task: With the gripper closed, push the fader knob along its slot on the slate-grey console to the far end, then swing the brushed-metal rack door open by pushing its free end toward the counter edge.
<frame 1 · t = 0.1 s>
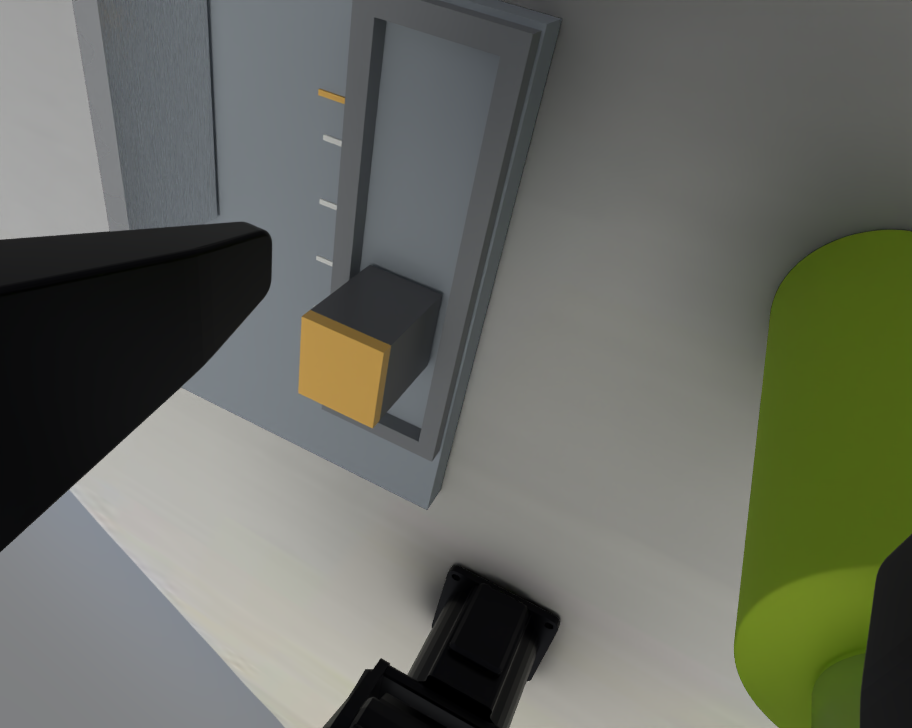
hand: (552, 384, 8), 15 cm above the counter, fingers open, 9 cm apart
fader knob: (371, 343, 24), point 4 cm above the counter, slide at -3.0 cm
rack door: (142, 103, 23), point 4 cm above the counter, hinge at 0.0°
soap dispenser: (858, 324, 21), on the counter, touching gripper
console: (319, 246, 28), on the counter
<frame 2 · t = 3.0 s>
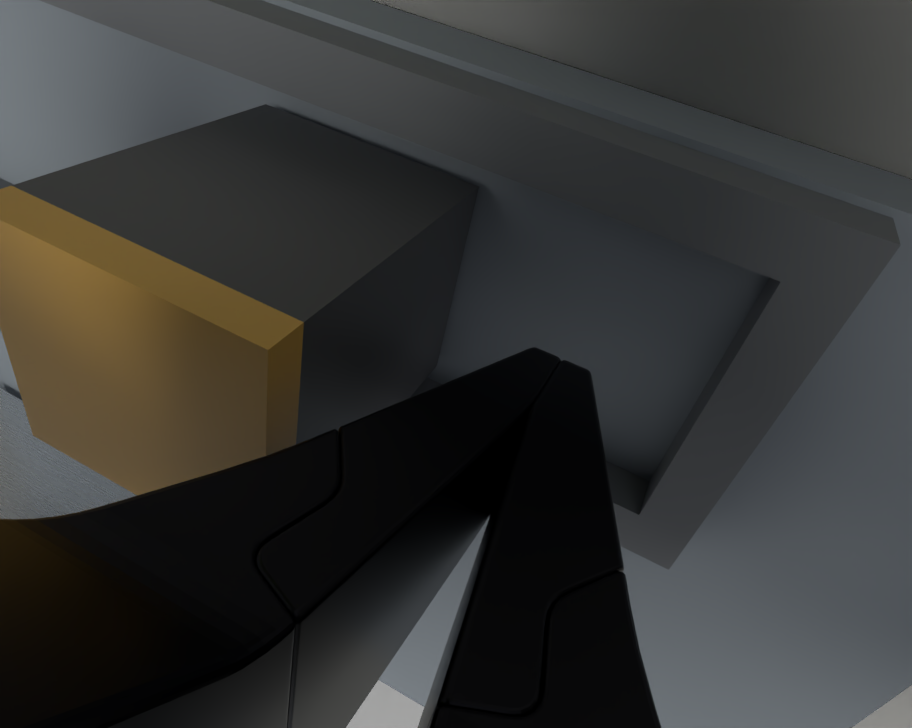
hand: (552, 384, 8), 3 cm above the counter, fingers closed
fader knob: (264, 306, 8), point 4 cm above the counter, slide at -2.9 cm, touching gripper
rack door: (65, 549, 16), point 4 cm above the counter, hinge at 0.0°
console: (359, 403, 15), on the counter
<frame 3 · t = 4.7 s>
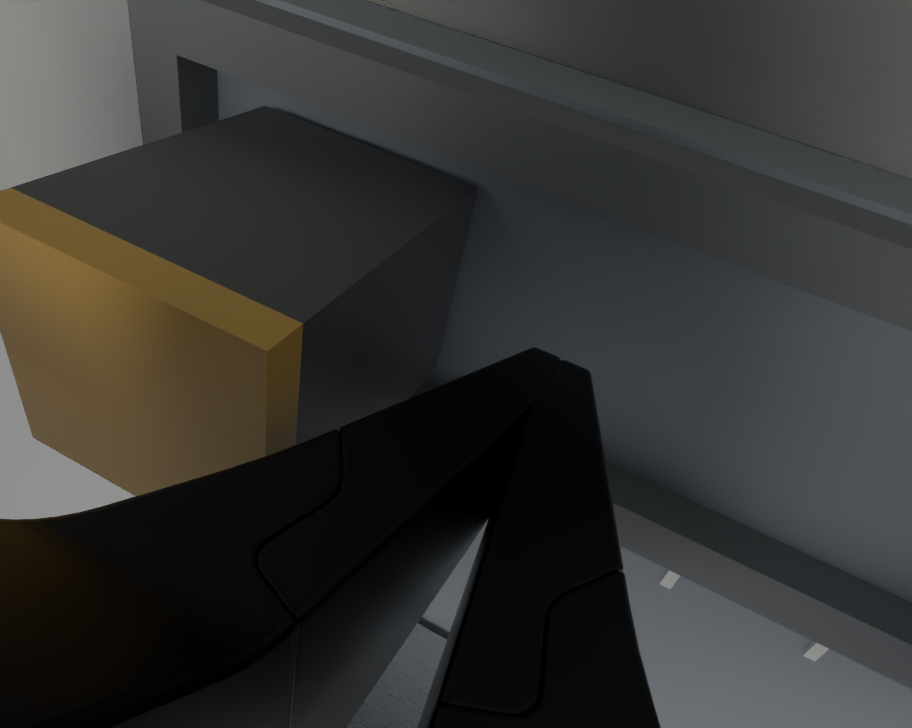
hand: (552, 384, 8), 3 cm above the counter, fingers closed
fader knob: (264, 307, 8), point 4 cm above the counter, slide at 4.7 cm, touching gripper
rack door: (327, 711, 14), point 4 cm above the counter, hinge at 0.0°
console: (684, 561, 13), on the counter
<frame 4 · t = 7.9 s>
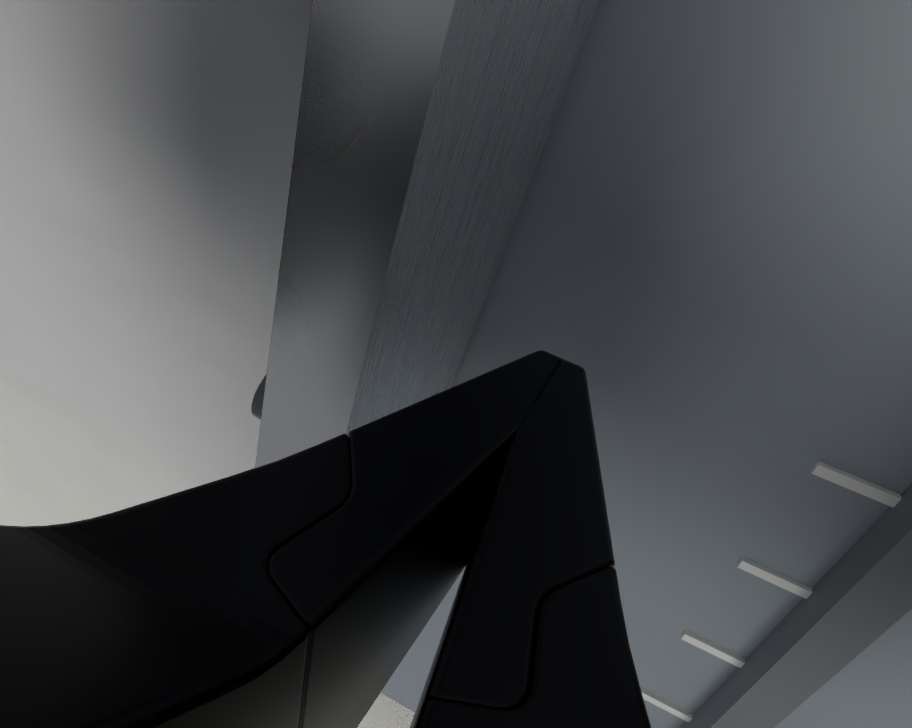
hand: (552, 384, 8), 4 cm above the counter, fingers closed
rack door: (380, 228, 8), point 4 cm above the counter, hinge at 5.9°, touching gripper
console: (690, 499, 13), on the counter
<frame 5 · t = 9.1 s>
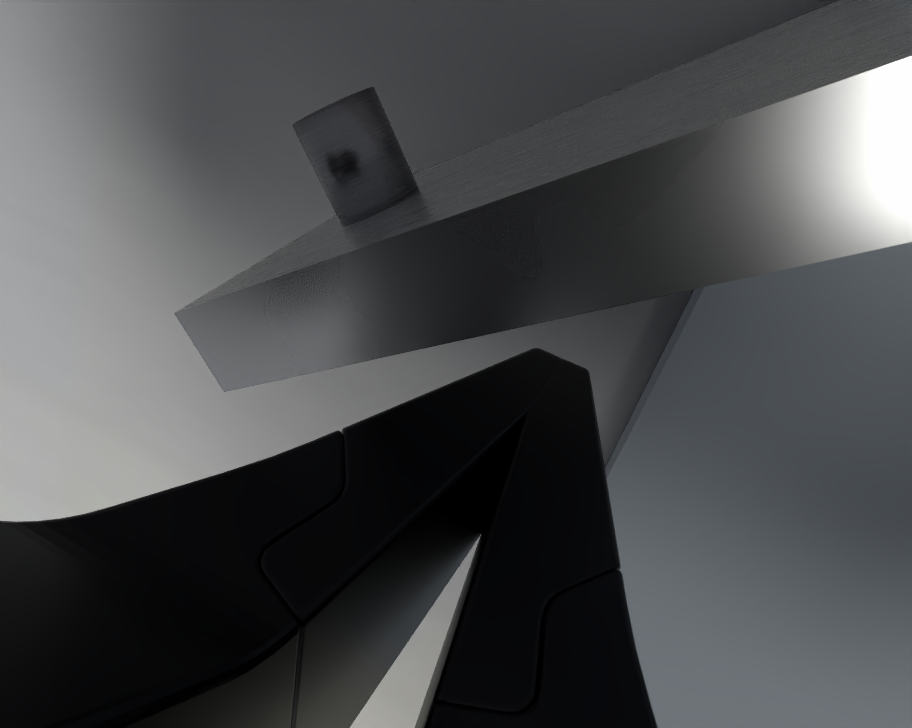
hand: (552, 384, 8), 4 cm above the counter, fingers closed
rack door: (670, 80, 6), point 4 cm above the counter, hinge at 52.0°, touching gripper
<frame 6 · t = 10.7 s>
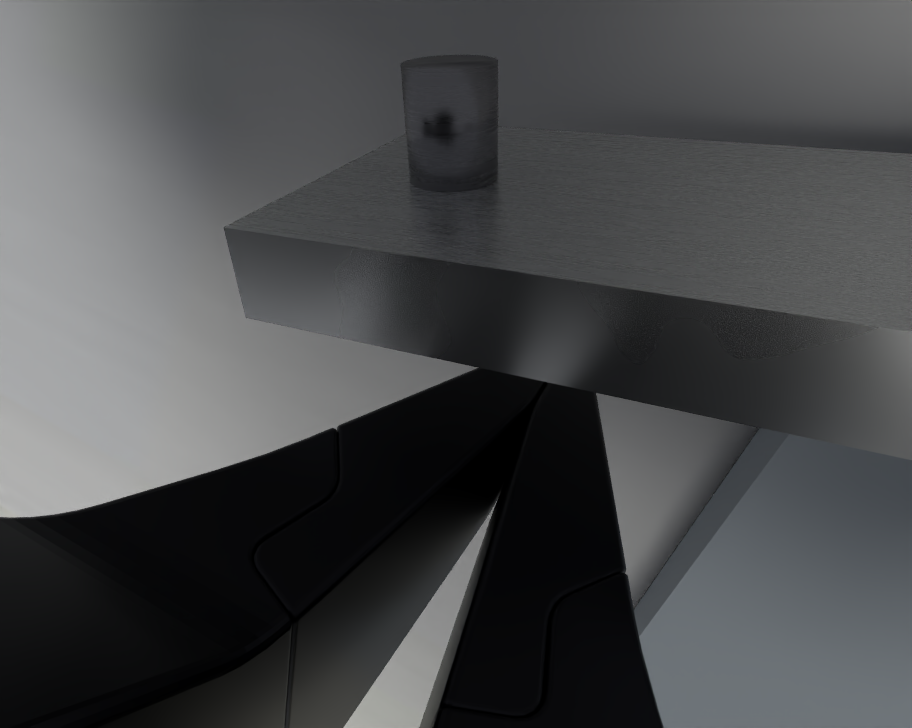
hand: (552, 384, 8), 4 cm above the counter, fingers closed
rack door: (785, 195, 6), point 4 cm above the counter, hinge at 75.4°
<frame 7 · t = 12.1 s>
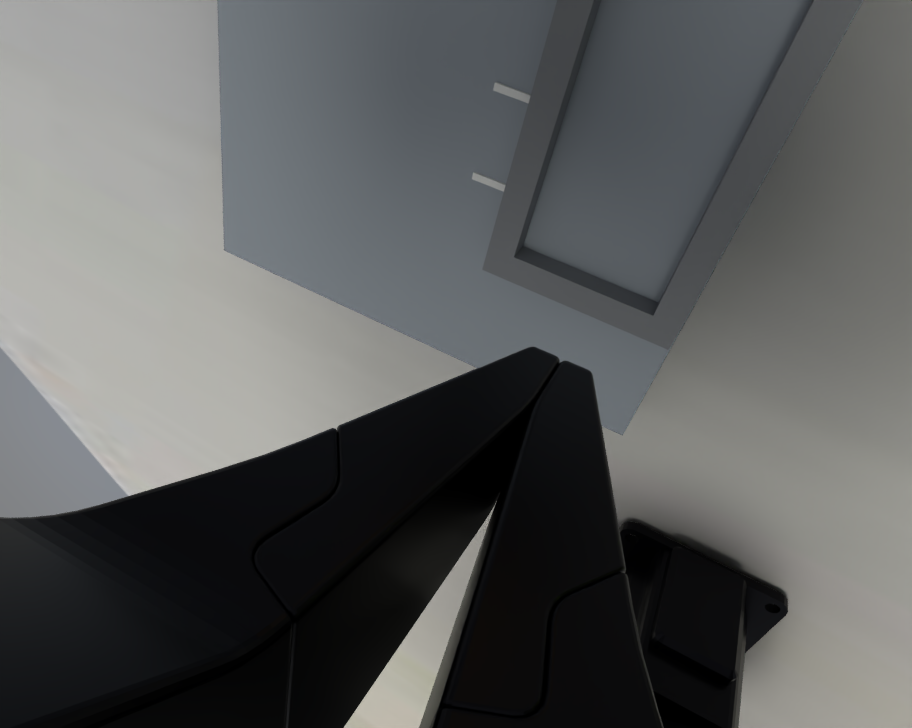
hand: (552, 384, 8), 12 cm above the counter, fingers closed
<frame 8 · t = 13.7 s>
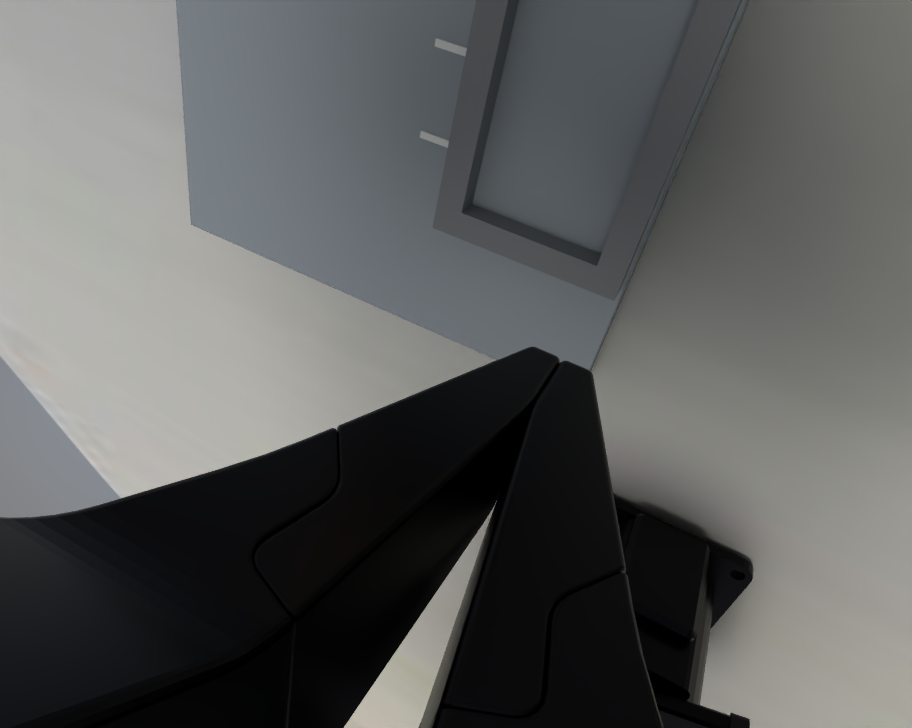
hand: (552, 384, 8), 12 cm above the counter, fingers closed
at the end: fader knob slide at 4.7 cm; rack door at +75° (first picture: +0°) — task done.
